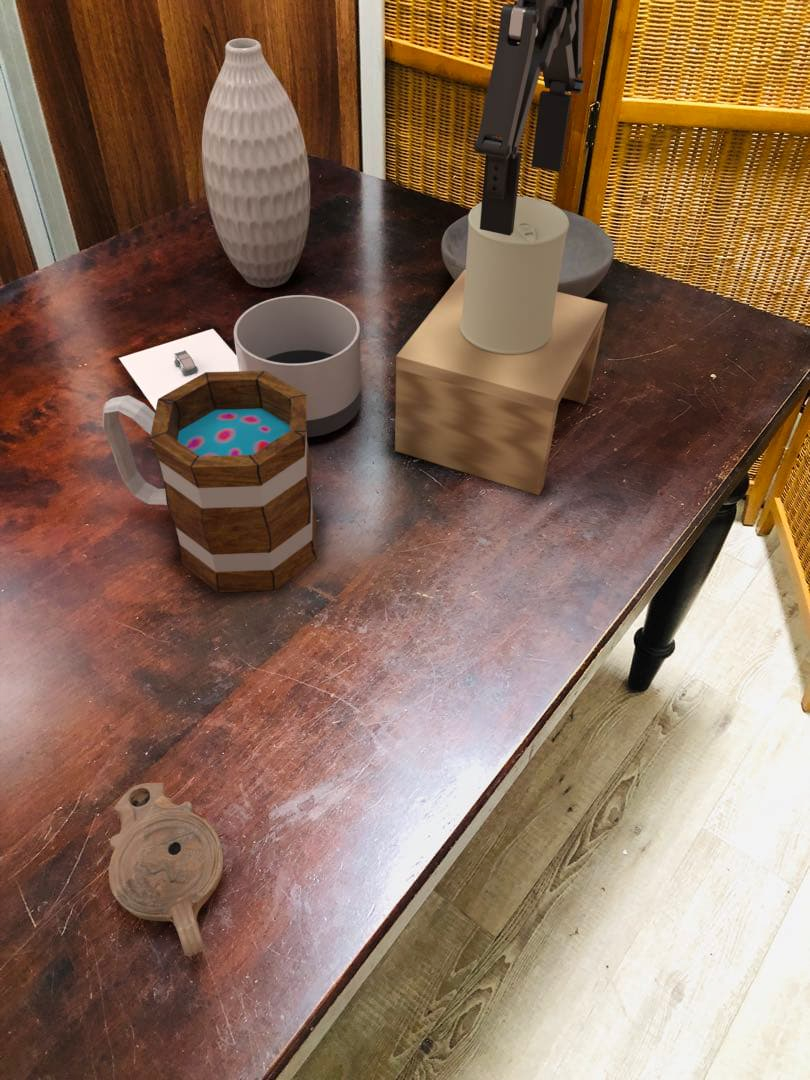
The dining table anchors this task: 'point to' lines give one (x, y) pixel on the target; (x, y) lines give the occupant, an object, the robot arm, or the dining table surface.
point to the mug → (228, 475)
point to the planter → (306, 354)
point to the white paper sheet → (179, 363)
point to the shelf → (492, 392)
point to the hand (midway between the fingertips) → (522, 198)
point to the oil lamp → (164, 861)
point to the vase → (255, 168)
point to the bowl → (580, 262)
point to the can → (513, 279)
